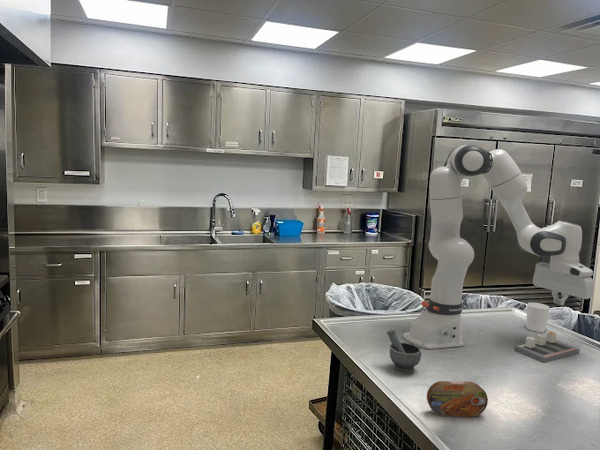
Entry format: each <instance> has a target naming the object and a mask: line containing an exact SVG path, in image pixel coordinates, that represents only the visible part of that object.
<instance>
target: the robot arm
mask: <svg viewBox="0 0 600 450" xmlns="http://www.w3.org/2000/svg"><path fill="white" fill-rule="evenodd" d="M480 175H481V176H483V177H484V179H486V181H487V183H488V185H489V187H490V189H491V191H492V192H493V194H494V195H495V197H496V198H497V199H498V201H499V202H500V204H501V205H502V207H503V209H504V210H505V213H506V215H507V217H508V219H509V221H510V223H511V225H512V226H513V230H514V237H515V238H514V239H515V243H516V246H517V247H518V248H519V249H520V250H521V251H523V252H527V253H530V254H533V255H536V256H537V257H550V259H549V262H544V261H539V262H537V263H536V264H535V269H534V272H533V273H534V274H533V277H532V284H533V286H535V287H539V288H543V289H546V290H549V291H551V295H552V297H553V304H556V305H560V306H564V305H565V302H566V300H567V299H568V298H569V297H570V296H573V297H576V298H580V299H583V300H588V299H590V298H592V296H593V293H594V280H593V278H592V276H593V274H594V271H593V270H592V269H591V268H589V267H587V266H585V265H584V264H582V263H581V262H580V251H581V249H582V243H583V230H582V226H581V225H579V224H578V223H576V222H575V223H574V222H570V221H566V220H558V221H556V222H555V223H553V224H551V225H548V226H544V227H542V228H541V227H539V226H537V225H535V224H534V223H533V221H532V220H531V219H530V216H529V214H528V212H527V210H526V208H525V206H524V203H523V199H524V197H525V196H526V195H527V191H528V185H527V181H526V179H525V176H524V174H523V173H522V171H521V169H520V167H519V166H518V164H517V163H516V162H515V160H514V159H513V158H512V157H511V155H510V154H509V153H508V152H507V151H506V150H504V149H501V148H498V149H493V150H490V151H487V150H486V149H485V148H482V147H480V146H478V145H475V144H461V145H458V146H456V147H455V148H453V149H452V150H451V151H450V152H449V154H448V156H447V158H446V160H445V163H444V164H443V166H438V167H437V168H435V169H433V170H432V171H431V173H430V176H429V183H428V184H429V186H428V189H429V191H428V193H429V195H428V196H429V206H430V216H431V217H430V219H431V220H430V221H431V222H430V235H429V241H428V249H429V252H430V254H431V255H432V257H433V258H435V259H436V260H437V266H436V270H435V272H434V275H433V276H432V278H431V283H430V284H431V285H430V286H431V287H430V297H429V299H428V301H426V300H422V301H421V302H420V305H421V306H422V307H424V308H425V309H424V310H423V311H422V312H421V313H420V314H419V315H418V316H417V317H416V318H415V319H413V321H412V322H411V324H410V328H409V331H407V332H405V333H403V335H402V337H403V338H404V339H405V341H407V342H408V343H410V344H414V345H416V346H418V347H419V348H421V349H422V348H423V349H427V350H433V349H434V350H435V349H436V350H437V349H446V348H457V347H463V346H464V340H463V325H462V324H463V323H462V316H461V314H462V312H463V302H462V297H463V287H464V282H465V278H466V274H467V271H468V269H469V266H470V265H471V264H472V263H473V261H474V259H475V251H474V248H473V246H472V245H471V244H470V243H469V242H468V241H467V240H465V238H462V237H461V235H460V233H461V232H460V231H461V224H462V221H463V218H464V212H463V211H464V209H463V198H462V190H461V189H462V188H461V187H462V181H463V179H464V178H465V177H475V176H480ZM559 293H561V298H559V295H558V294H559Z"/></svg>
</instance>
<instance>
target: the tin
mask: <svg viewBox="0 0 600 450" xmlns="http://www.w3.org/2000/svg"><path fill="white" fill-rule="evenodd" d="M426 400H427V404H428V405H429V408H430V409H431V411H432V412H433V413H434V414H436V415H437V416H440V417H461V418H463V417H466V418H467V417H469V418H473V417H477V416H479V415H481V414H482V413H484V411H485V410H486V408H487V406H488V402H489V398H488V395H487V392H486V391H485V390H484V388H483V387H481V386H480V385H479V384H478V383H476V382H473V381H461V380H458V381H456V380H455V381H453V380H440V381H436V382H434V383H432V384H431V385H430V386H429V388H428V390H427V393H426Z"/></svg>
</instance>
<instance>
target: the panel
mask: <svg viewBox="0 0 600 450" xmlns="http://www.w3.org/2000/svg"><path fill="white" fill-rule="evenodd" d="M525 344H526V343H523V344H519V345H515V346H514V351H515V352H518V353H520V354H522V355H524V356H527V357H529V358H531V359H534V360H537V361H539V362H541V363H548V362H552V361H556V360H560V359H563V358H567V357H571V356H574V355H578V354H579V353H580V348H578V347H575V346H572V345H569V344H566V343H563V342H561V341H558V340H556V342H555V343H549V342H546V345H542V346H540V345H538V344H536V342H535V347H534V348H528V347H526V346H525Z"/></svg>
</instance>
